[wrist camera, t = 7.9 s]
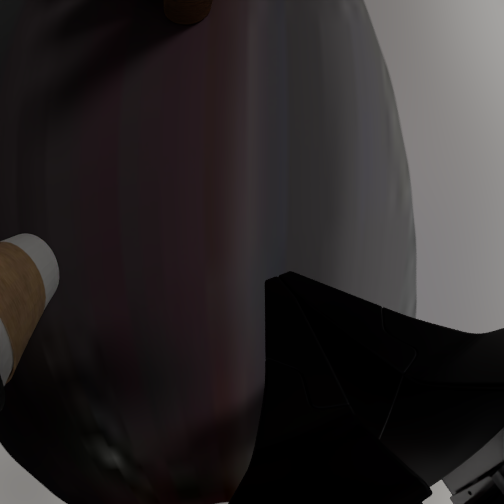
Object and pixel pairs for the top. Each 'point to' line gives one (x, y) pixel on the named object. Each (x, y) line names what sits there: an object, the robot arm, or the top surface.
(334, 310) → the robot arm
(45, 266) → the coffee cup
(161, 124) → the top surface
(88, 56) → the top surface
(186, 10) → the shaft
